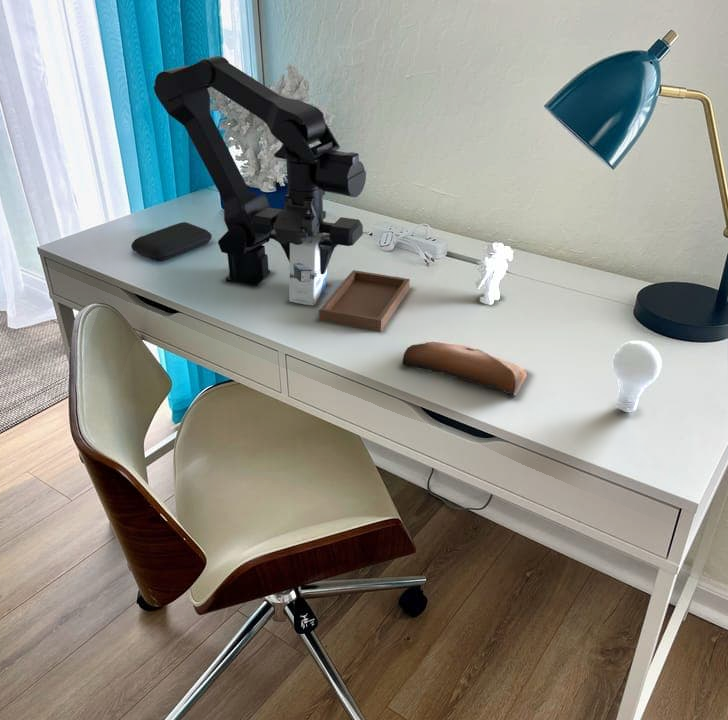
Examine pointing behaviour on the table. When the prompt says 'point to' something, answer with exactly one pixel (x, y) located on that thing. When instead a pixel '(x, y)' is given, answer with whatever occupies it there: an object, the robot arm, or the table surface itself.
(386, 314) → the desk tray
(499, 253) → the flower shoulder figurine
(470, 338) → the table surface
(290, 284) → the ink box
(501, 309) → the table surface
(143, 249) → the carrying case
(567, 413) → the table surface
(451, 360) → the sunglasses case
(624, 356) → the lightbulb
